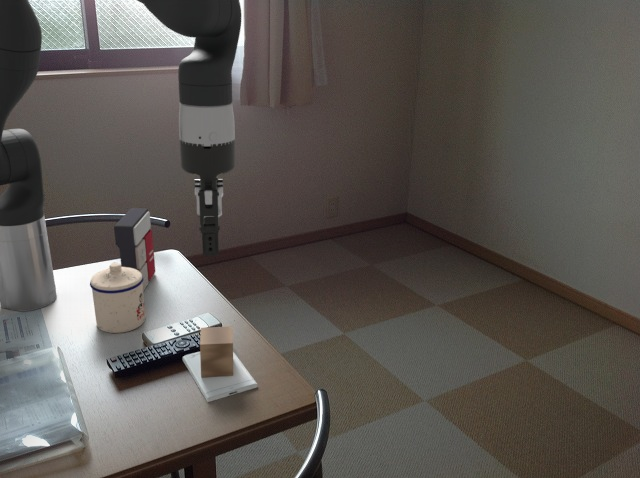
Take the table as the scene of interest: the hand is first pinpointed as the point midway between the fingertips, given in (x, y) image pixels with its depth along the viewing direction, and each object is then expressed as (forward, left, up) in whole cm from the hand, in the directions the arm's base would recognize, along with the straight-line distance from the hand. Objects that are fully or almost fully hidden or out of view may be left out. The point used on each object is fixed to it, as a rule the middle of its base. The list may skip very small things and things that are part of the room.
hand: (211, 243), depth 87 cm
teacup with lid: (-18, +19, -22) cm, 34 cm away
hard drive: (0, -1, -23) cm, 23 cm away
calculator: (-15, +33, -22) cm, 43 cm away
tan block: (0, -1, -21) cm, 21 cm away
